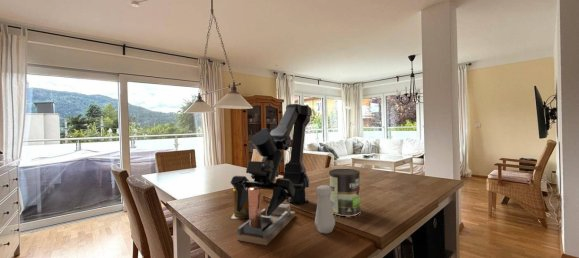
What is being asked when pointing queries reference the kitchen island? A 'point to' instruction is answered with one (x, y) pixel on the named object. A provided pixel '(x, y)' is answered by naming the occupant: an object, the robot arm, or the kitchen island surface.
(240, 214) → the condiment
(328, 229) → the salt shaker
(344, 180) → the coffee can
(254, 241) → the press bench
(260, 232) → the slider
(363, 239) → the kitchen island surface
